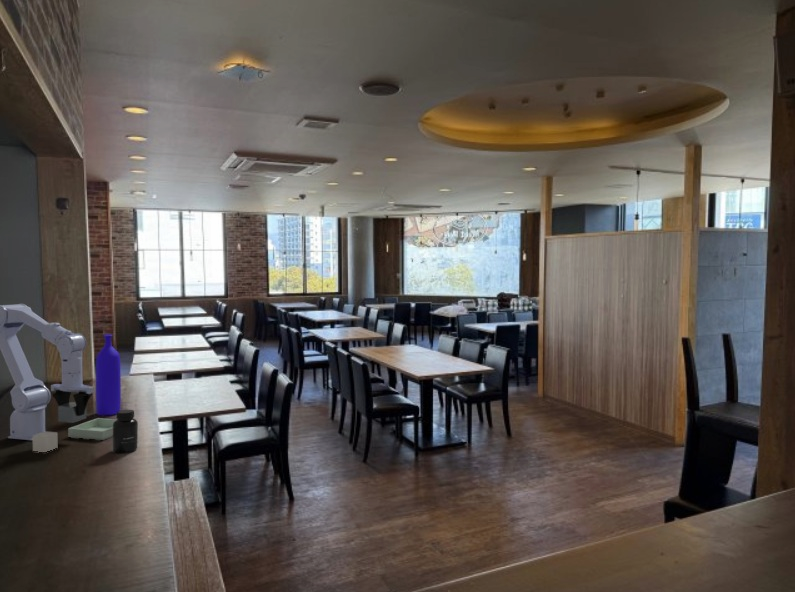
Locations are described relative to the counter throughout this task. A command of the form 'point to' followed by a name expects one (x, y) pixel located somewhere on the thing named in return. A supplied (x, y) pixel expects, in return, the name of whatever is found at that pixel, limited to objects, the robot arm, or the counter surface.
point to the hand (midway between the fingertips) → (72, 414)
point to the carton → (45, 441)
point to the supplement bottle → (125, 432)
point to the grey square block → (69, 413)
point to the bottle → (108, 380)
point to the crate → (93, 429)
